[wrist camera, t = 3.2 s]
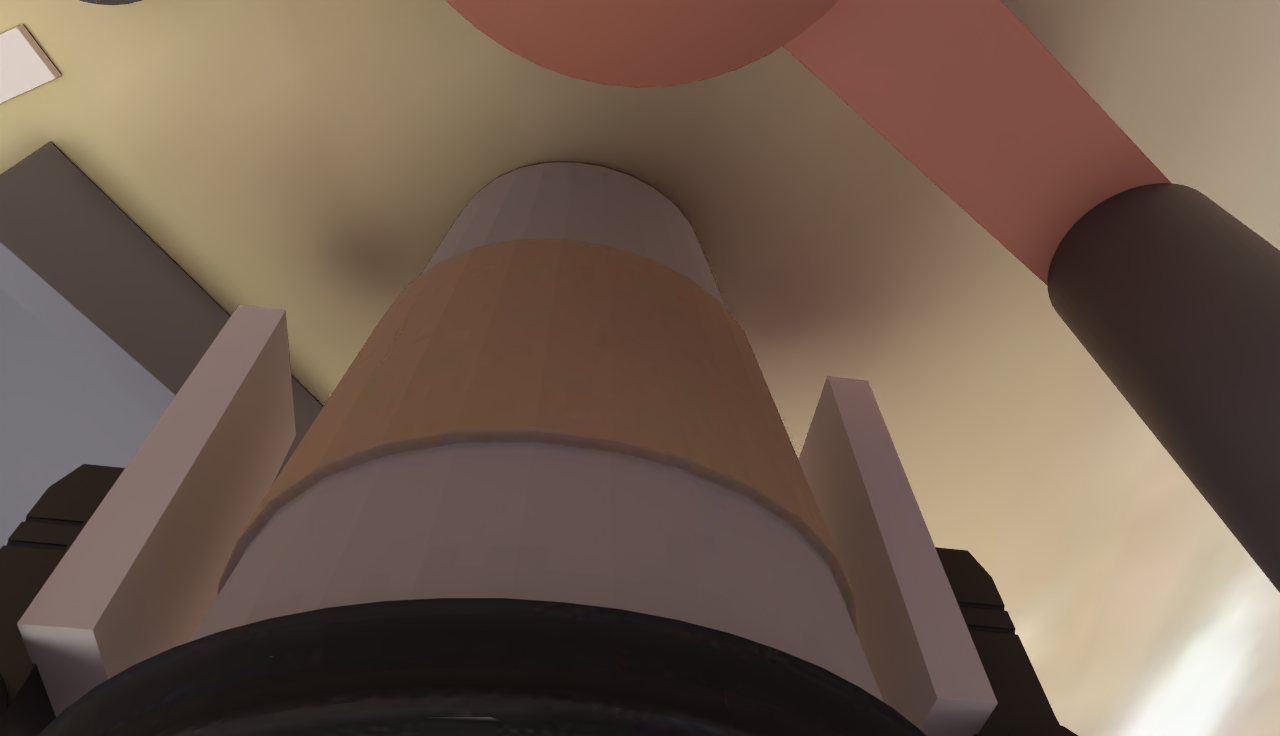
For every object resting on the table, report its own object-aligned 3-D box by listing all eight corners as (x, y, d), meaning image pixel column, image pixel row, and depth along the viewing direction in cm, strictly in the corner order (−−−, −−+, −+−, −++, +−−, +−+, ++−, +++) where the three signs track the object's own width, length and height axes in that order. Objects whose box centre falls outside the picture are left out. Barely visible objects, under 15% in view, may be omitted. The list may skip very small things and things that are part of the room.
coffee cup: (796, 412, 22) (1026, 1257, 9) (433, 468, 23) (210, 1312, 10) (756, 24, 16) (1166, 806, 4) (284, 116, 17) (-546, 993, 5)
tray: (49, 141, 17) (-44, 204, 15) (465, 545, 24) (448, 634, 22) (-323, 422, 21) (-446, 508, 19) (127, 703, 28) (79, 794, 26)
